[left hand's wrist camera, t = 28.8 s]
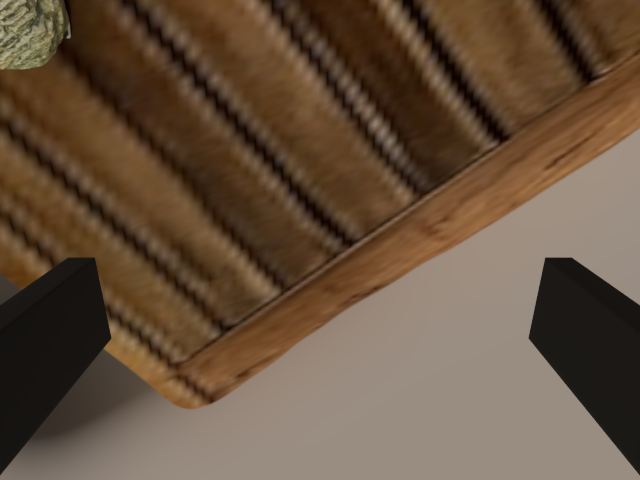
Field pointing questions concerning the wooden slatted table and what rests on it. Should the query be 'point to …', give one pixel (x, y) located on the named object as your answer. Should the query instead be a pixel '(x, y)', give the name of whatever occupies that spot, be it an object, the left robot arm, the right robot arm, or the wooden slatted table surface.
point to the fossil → (31, 32)
